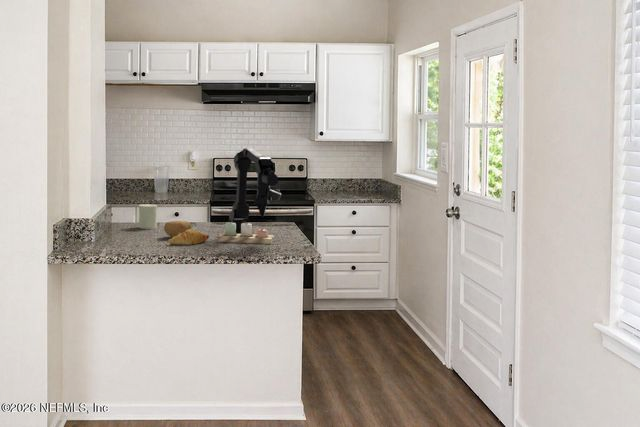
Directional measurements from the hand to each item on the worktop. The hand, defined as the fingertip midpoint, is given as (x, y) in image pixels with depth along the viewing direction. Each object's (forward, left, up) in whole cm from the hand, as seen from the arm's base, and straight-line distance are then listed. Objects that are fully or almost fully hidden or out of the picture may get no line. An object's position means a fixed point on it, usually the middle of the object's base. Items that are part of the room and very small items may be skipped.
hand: (262, 217), depth 379 cm
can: (-69, 0, -12) cm, 70 cm away
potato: (-38, -15, -12) cm, 43 cm away
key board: (-7, -3, -12) cm, 14 cm away
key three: (0, 0, -12) cm, 12 cm away
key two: (-7, -3, -9) cm, 12 cm away
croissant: (-24, -25, -12) cm, 37 cm away
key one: (-14, -6, -9) cm, 18 cm away
